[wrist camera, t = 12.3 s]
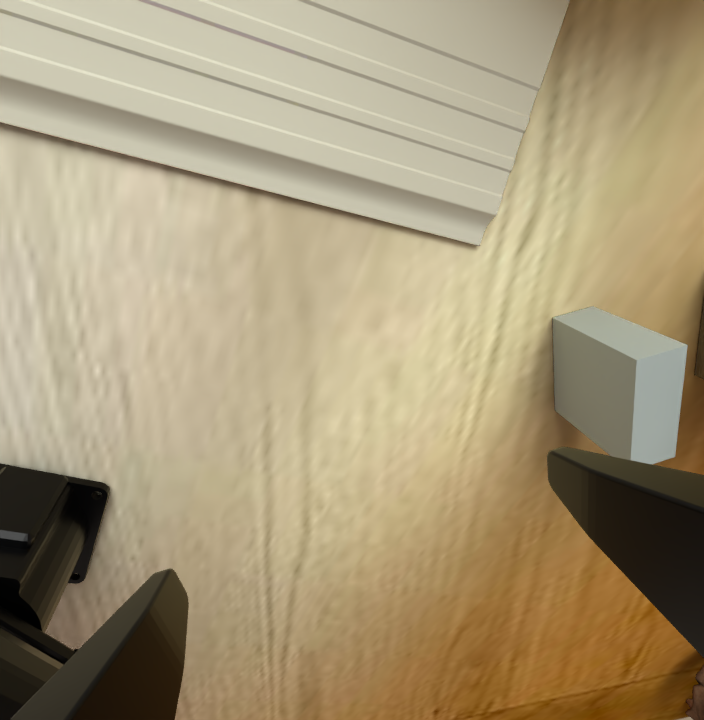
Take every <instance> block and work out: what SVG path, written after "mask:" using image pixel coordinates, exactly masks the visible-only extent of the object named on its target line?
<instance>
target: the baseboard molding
mask: <svg viewBox="0 0 704 720" xmlns="http://www.w3.org/2000/svg"><path fill="white" fill-rule="evenodd" d="M569 2H570V0H0V122H1V123H5V124H9V125H12V126H16V127H20V128H24V129H28V130H32V131H36V132H39V133H43V134H47V135H51V136H55V137H59V138H63V139H67V140H70V141H74V142H78V143H82V144H86V145H90V146H94V147H98V148H101V149H105V150H109V151H113V152H117V153H121V154H125V155H129V156H132V157H136V158H140V159H144V160H148V161H152V162H156V163H160V164H163V165H167V166H171V167H175V168H179V169H183V170H187V171H191V172H194V173H198V174H202V175H206V176H210V177H214V178H218V179H222V180H225V181H229V182H233V183H237V184H241V185H245V186H249V187H253V188H256V189H260V190H264V191H268V192H272V193H276V194H280V195H283V196H287V197H291V198H295V199H299V200H303V201H307V202H311V203H314V204H318V205H322V206H326V207H330V208H334V209H338V210H342V211H345V212H349V213H353V214H357V215H361V216H365V217H369V218H373V219H376V220H380V221H384V222H388V223H392V224H396V225H400V226H404V227H407V228H411V229H415V230H419V231H423V232H427V233H431V234H435V235H438V236H442V237H446V238H450V239H454V240H458V241H462V242H466V243H469V244H473V245H477V246H480V243H481V241H482V238H483V234H484V232H485V229H486V228H487V226H488V224H489V223H490V222H491V220H492V219H493V218H494V217H495V216H496V215H497V212H498V209H499V206H500V203H501V200H502V195H503V192H504V189H505V186H506V183H507V180H508V177H509V174H510V172H511V171H512V168H513V165H514V163H515V157H516V154H517V151H518V148H519V145H520V142H521V139H522V136H523V133H524V132H525V130H526V128H527V125H528V122H529V119H530V118H529V116H530V113H531V110H532V107H533V104H534V101H535V98H536V95H537V92H538V90H539V89H540V87H541V84H542V81H543V78H544V75H545V72H546V69H547V66H548V63H549V61H550V58H551V55H552V52H553V49H554V46H555V43H556V40H557V37H558V34H559V31H560V28H561V26H562V23H563V20H564V17H565V14H566V11H567V8H568V5H569Z"/></svg>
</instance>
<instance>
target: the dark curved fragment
mask: <svg viewBox="0 0 704 720" xmlns="http://www.w3.org/2000/svg"><path fill="white" fill-rule="evenodd" d="M695 678H696V680H697V682H698V683H699V684H698V685H694V686H693V692H692V693H693V699H687V700H686V702H687V704H688V705H689V707H690V709H688V710H687V711H686V714H687V715H688V716H690V717H691V718H692V719H693V720H704V666H703V667H702V669H701V670H700V671H699V672H698V673H697V674H696V677H695Z"/></svg>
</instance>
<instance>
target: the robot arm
mask: <svg viewBox="0 0 704 720" xmlns="http://www.w3.org/2000/svg"><path fill="white" fill-rule="evenodd" d="M547 465H548V480H549V483H550V486H551V488H552V489H553V491H554V492H555V493H556V495H557V496H558V497H559V499H560V500H561V501H562V502H563V504H564V505H565V506H566V508H567V509H568V510H569V512H570V513H571V514H572V516H573V517H574V518H575V520H576V521H577V522H578V524H579V525H580V526H581V527H582V529H583V530H584V531H585V532H586V534H587V535H588V536H589V537H590V538H591V539H592V540H593V542H594V543H595V544H596V545H597V546H598V547H599V548H600V549H601V550H602V551H603V552H604V553H605V554H606V555H607V556H608V557H609V558H610V560H611V561H612V562H613V563H614V564H615V565H616V566H617V567H618V568H619V569H620V570H621V571H622V572H623V573H624V574H625V575H626V576H627V577H628V579H629V580H630V581H631V582H632V583H633V584H634V585H635V586H636V587H637V588H638V589H639V590H640V591H641V592H642V593H643V594H644V595H645V596H646V598H647V599H648V600H649V601H650V602H651V603H652V604H653V605H654V606H655V607H656V608H657V609H658V610H659V611H660V612H661V613H662V614H663V615H664V616H665V618H666V619H667V620H668V621H669V622H670V623H671V624H672V625H673V626H674V627H675V628H676V629H677V630H678V631H679V632H680V633H681V634H682V635H683V637H684V638H685V639H686V640H687V641H688V642H689V643H690V644H691V645H692V646H693V647H694V648H695V649H696V650H697V651H698V652H699V653H700V654H701V655H702V657H703V658H704V475H701V474H696V473H691V472H686V471H681V470H676V469H671V468H666V467H661V466H656V465H652V464H647V463H642V462H637V461H632V460H627V459H622V458H617V457H612V456H608V455H603V454H598V453H593V452H588V451H583V450H578V449H573V448H568V447H560V448H557V449H554V450H551V451H549V452H548V455H547ZM97 491H98V492H101V493H102V494H99V495H98V494H96V493H95V492H97ZM109 494H110V488H109V486H107V485H106V484H104V483H101V482H96V481H90V480H85V479H80V478H74V477H69V476H63V475H58V474H53V473H47V472H42V471H37V470H31V469H26V468H21V467H15V466H10V465H5V464H0V720H175V714H176V709H177V704H178V698H179V693H180V687H181V682H182V676H183V670H184V660H185V647H186V633H187V619H188V596H187V593H186V591H185V589H184V587H183V585H182V583H181V581H180V580H179V578H178V576H177V574H176V572H175V571H174V570H173V569H166V570H163V571H160V572H157V573H154V574H153V575H152V576H151V577H150V578H149V579H148V580H147V581H146V582H145V583H144V584H143V585H142V586H141V587H140V588H139V589H138V590H137V591H136V592H135V593H134V594H133V595H132V596H131V597H130V598H129V599H128V600H127V601H126V602H125V603H124V604H123V605H122V606H121V607H120V608H119V609H118V610H117V611H116V612H115V613H114V614H113V615H112V616H111V617H110V618H109V619H108V620H107V621H106V622H105V623H104V624H103V626H102V627H101V628H100V629H99V630H98V631H97V632H96V633H95V634H94V635H93V636H92V637H91V638H90V639H89V640H88V641H87V642H86V643H85V644H84V645H83V646H82V647H81V648H80V649H79V650H78V649H75V650H72V649H71V648H69V647H67V646H66V645H64V644H62V643H61V642H59V641H57V640H56V639H54V638H52V637H51V636H49V635H47V634H46V633H45V631H46V629H47V627H48V625H49V622H50V620H51V618H52V616H53V614H54V611H55V609H56V607H57V605H58V603H59V600H60V598H61V596H62V594H63V592H64V589H65V587H66V585H67V583H80V582H82V581H84V579H85V577H86V575H87V572H88V569H89V565H90V562H91V558H92V555H93V551H94V547H95V544H96V540H97V537H98V533H99V530H100V526H101V523H102V519H103V515H104V512H105V508H106V505H107V501H108V498H109ZM75 573H77V574H75Z"/></svg>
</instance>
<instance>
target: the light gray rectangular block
mask: <svg viewBox="0 0 704 720" xmlns="http://www.w3.org/2000/svg"><path fill="white" fill-rule="evenodd" d="M687 346H688V345H686V344H684V343H681V342H679V341H677V340H674V339H672V338H669V337H667V336H664V335H662V334H659V333H657V332H655V331H652V330H650V329H647V328H645V327H642V326H640V325H637V324H635V323H633V322H630V321H628V320H625V319H623V318H620V317H618V316H616V315H613V314H611V313H608V312H606V311H603V310H601V309H598V308H596V307H594V306H592V307H589V308H585V309H581V310H578V311H574V312H571V313H567V314H564V315H560V316H557V317H553V357H554V396H555V411H556V412H557V413H559V414H560V415H561V416H562V417H563V418H565V419H566V420H567V421H568V422H570V423H571V424H572V425H573V426H575V427H576V428H577V429H578V430H580V431H581V432H582V433H583V434H584V435H586V436H587V437H588V438H589V439H591V440H592V441H593V442H594V443H596V444H597V445H598V446H599V447H600V448H602V449H603V450H604V451H605V452H607V453H608V454H609V455H610V456H612V457H617V458H622V459H627V460H632V461H637V462H642V463H647V464H654V463H658V462H661V461H664V460H667V459H670V458H673V457H675V453H676V444H677V435H678V426H679V417H680V408H681V399H682V391H683V382H684V373H685V364H686V355H687Z"/></svg>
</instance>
